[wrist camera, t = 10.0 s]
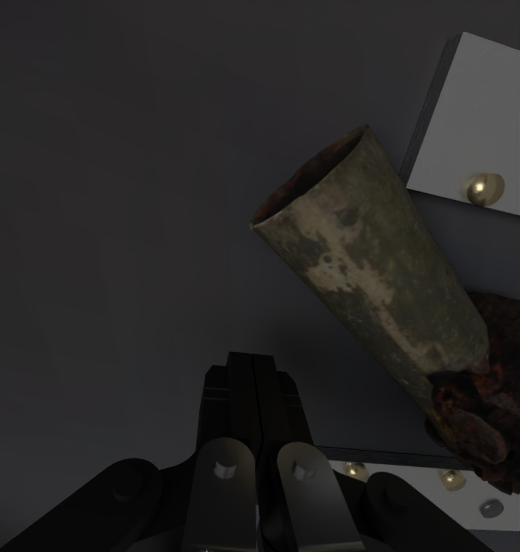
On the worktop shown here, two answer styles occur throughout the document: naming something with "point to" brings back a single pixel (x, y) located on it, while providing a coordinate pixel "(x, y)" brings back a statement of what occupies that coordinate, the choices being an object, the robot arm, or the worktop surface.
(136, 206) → the worktop surface
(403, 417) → the worktop surface
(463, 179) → the hinge leaves
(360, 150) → the cylinder with dark lump
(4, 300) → the worktop surface
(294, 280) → the worktop surface
